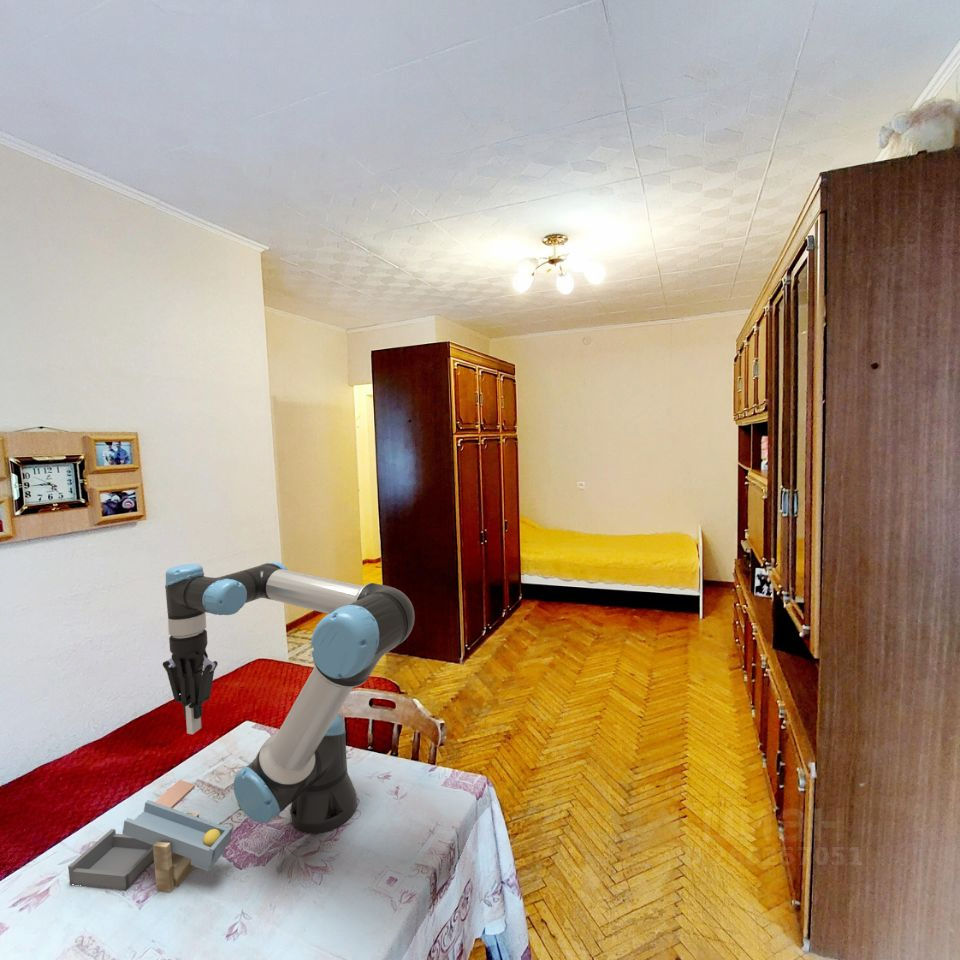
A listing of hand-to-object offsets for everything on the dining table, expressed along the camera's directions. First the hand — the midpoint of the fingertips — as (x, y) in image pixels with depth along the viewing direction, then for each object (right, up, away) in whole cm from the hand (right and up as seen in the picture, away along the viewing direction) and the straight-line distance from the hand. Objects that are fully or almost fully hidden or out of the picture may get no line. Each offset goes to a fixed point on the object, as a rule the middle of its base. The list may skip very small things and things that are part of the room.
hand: (194, 730), depth 116 cm
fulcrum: (+5, -23, -13) cm, 27 cm away
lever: (+5, -17, -9) cm, 20 cm away
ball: (+12, -14, -15) cm, 24 cm away
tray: (-10, -23, -11) cm, 28 cm away
